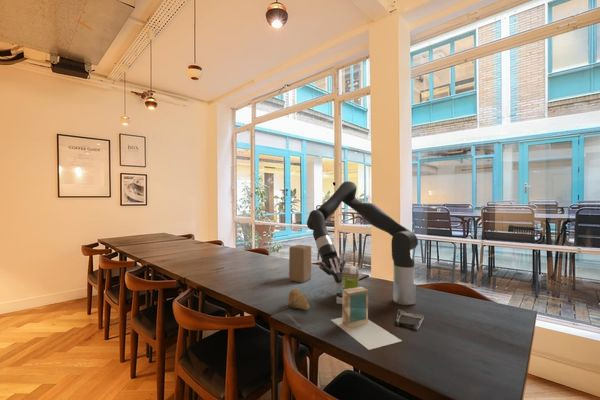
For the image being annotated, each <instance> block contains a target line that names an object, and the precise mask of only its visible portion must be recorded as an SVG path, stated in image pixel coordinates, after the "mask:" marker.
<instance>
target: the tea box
mask: <svg viewBox="0 0 600 400" xmlns="http://www.w3.org/2000/svg"><path fill="white" fill-rule="evenodd" d="M339 269H340V265H339ZM340 275H341V277H342V282H341V283H338V284H337V283H336V304H337V305H338V304H341V305H342V293H343V290H344V289H351V288H358V287H359V283H360V281H359V280H360V279H359V278H360V277H359V275H360V273H359V266H354V265H353V266H352V265H345V266H344V269H343V271H342V272H341V274H340Z"/></svg>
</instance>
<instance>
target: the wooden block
mask: <svg viewBox="0 0 600 400" xmlns="http://www.w3.org/2000/svg"><path fill="white" fill-rule="evenodd" d="M288 253H289V255H288V257H289V260H288V261H289V263H288V267H289V268H288V279H289V281H290V282H297V283H301V284H303V283H305V282H308V281H309V280H311V279H312V246H310V245H305V244H296V245H291V246H290V247H289V251H288Z"/></svg>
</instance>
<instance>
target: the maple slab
mask: <svg viewBox="0 0 600 400" xmlns="http://www.w3.org/2000/svg"><path fill="white" fill-rule="evenodd" d="M341 306H342V307H341V308H342V312H341V313H342V315H341V318H342V323H343V324H344V325H345V326H346V327H348V328H349V327H354V326H358V325H363V324H367V323H368V319H369V289H367V288H365V287H363V286H358V288H351V289H344V290H343V293H342V304H341Z"/></svg>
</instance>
